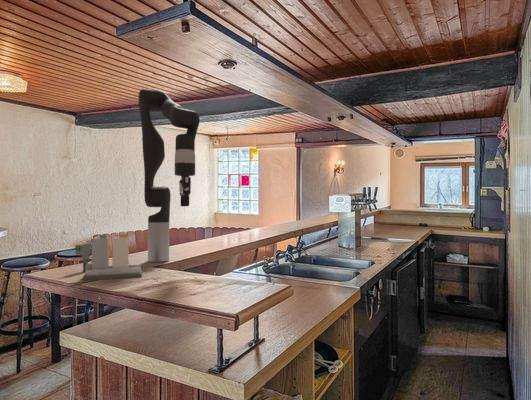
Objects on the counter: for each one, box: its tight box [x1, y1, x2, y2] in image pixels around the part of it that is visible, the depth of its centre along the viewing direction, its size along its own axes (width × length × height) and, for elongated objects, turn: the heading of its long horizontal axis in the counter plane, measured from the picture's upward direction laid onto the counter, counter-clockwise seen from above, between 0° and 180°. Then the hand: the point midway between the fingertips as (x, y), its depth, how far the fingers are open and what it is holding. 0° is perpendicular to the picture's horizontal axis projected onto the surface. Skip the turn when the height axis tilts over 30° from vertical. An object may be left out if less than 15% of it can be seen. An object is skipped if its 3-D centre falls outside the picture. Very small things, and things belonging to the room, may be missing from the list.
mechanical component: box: [74, 242, 92, 272], centre depth 142 cm, size 3×10×10 cm, turn 174°
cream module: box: [111, 233, 130, 268], centre depth 133 cm, size 4×5×13 cm
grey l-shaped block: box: [82, 234, 143, 281], centre depth 132 cm, size 12×18×14 cm, turn 108°
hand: (184, 206), depth 142 cm, fingers open, 8 cm apart
